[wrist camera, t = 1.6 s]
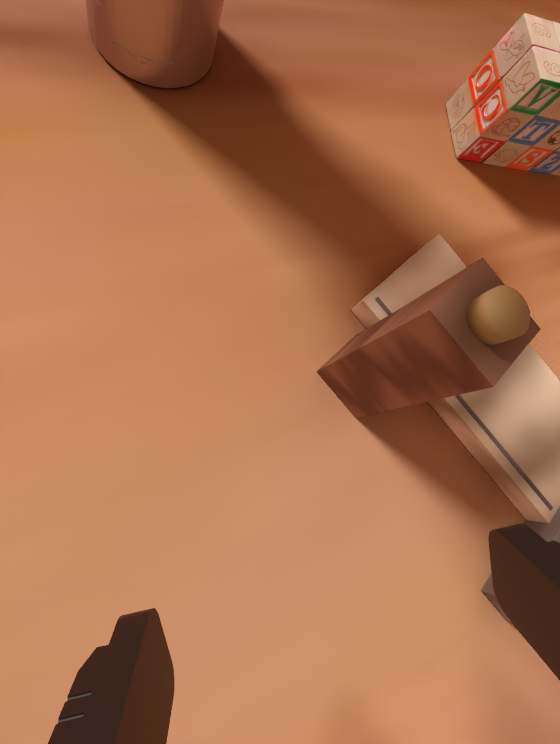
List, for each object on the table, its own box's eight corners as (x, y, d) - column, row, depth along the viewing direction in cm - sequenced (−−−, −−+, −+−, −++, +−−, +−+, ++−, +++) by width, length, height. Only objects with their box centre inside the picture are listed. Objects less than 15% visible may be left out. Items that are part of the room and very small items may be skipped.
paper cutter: (288, 364, 30) (303, 353, 27) (424, 245, 36) (447, 226, 33) (506, 620, 31) (542, 635, 28) (601, 461, 37) (638, 461, 34)
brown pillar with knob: (316, 371, 31) (448, 299, 17) (355, 335, 32) (502, 245, 19) (355, 417, 31) (515, 381, 18) (392, 380, 32) (563, 321, 19)
